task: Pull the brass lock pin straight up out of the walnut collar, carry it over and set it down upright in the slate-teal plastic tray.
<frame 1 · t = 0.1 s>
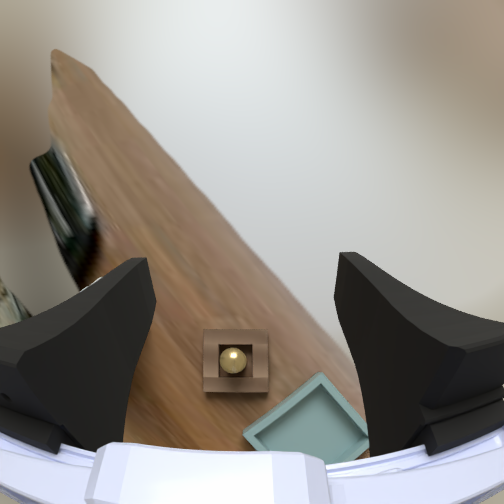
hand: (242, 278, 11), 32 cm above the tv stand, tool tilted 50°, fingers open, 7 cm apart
tray: (310, 434, 37), on the tv stand
lock pin: (234, 360, 37), in the collar
collar: (236, 361, 40), on the tv stand
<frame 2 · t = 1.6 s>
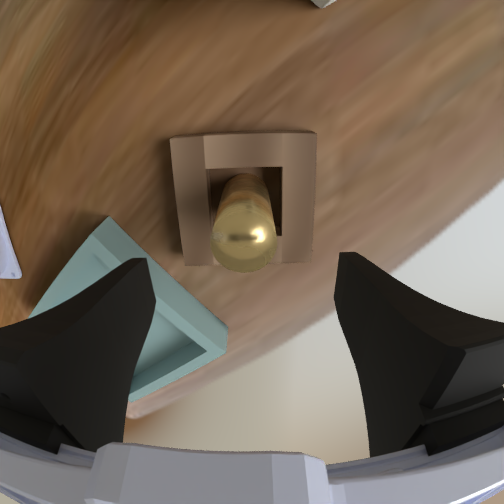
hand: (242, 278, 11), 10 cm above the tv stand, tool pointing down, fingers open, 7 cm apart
tray: (123, 315, 25), on the tv stand
lock pin: (244, 215, 17), in the collar
collar: (245, 195, 20), on the tv stand
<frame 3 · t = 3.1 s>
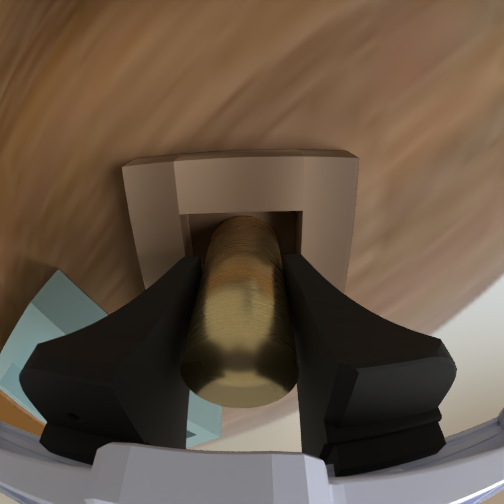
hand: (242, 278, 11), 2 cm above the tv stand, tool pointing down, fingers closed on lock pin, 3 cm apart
tray: (94, 379, 18), on the tv stand
lock pin: (242, 296, 10), in the collar, touching gripper
collar: (243, 248, 14), on the tv stand
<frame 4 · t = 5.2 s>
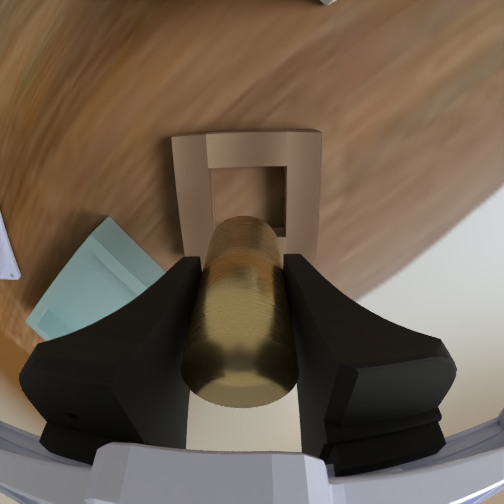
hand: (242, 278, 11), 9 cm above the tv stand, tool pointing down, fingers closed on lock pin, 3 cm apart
tray: (123, 317, 24), on the tv stand
lock pin: (242, 295, 10), point 10 cm above the tv stand, touching gripper
collar: (248, 196, 20), on the tv stand
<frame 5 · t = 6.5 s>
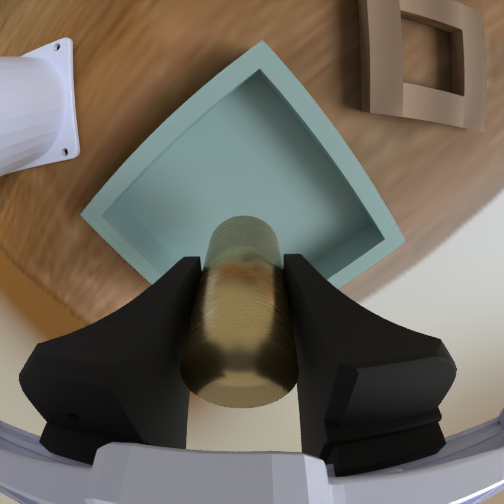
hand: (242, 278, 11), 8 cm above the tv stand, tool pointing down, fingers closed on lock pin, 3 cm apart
tray: (245, 205, 18), on the tv stand
lock pin: (242, 295, 10), point 9 cm above the tv stand, touching gripper
collar: (423, 55, 14), on the tv stand
when the fingers open (4 cm above the tv stand, at t = 7.4 s): lock pin drops 1 cm, resting on tray.
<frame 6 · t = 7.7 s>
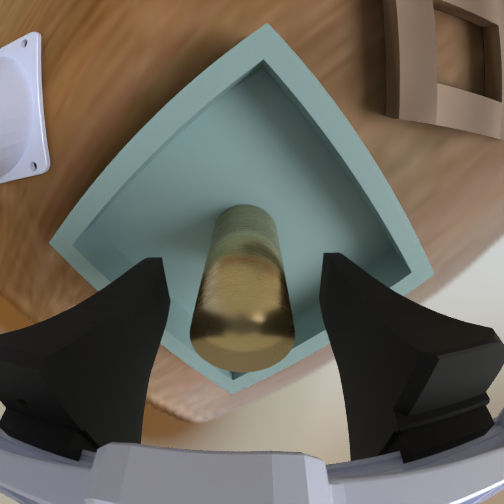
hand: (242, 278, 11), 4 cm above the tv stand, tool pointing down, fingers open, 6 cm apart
tray: (244, 229, 15), on the tv stand
lock pin: (244, 273, 12), in the tray, point 4 cm above the tv stand
collar: (455, 51, 10), on the tv stand
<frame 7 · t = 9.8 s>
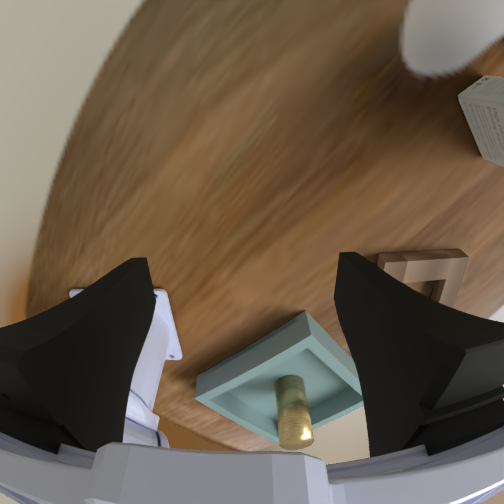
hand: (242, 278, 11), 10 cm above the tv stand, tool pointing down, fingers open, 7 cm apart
tray: (288, 379, 30), on the tv stand
lock pin: (292, 411, 26), in the tray, point 4 cm above the tv stand
skincare box: (484, 117, 18), on the tv stand
collar: (412, 293, 25), on the tv stand
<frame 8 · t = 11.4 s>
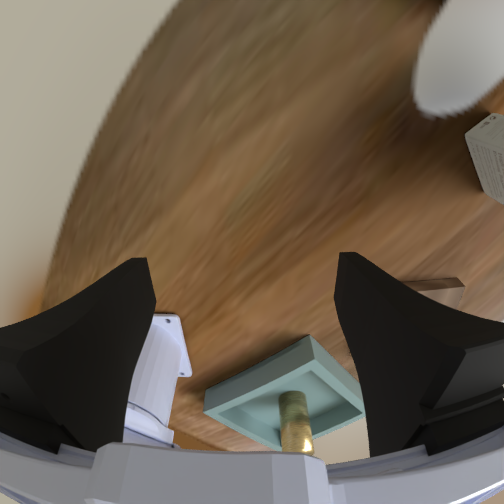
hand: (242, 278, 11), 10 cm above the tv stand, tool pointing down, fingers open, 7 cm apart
tray: (291, 394, 31), on the tv stand
lock pin: (295, 425, 27), in the tray, point 4 cm above the tv stand
skincare box: (489, 153, 19), on the tv stand
collar: (410, 318, 26), on the tv stand
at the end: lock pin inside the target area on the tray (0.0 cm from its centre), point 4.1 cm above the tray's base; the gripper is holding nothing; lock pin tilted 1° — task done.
